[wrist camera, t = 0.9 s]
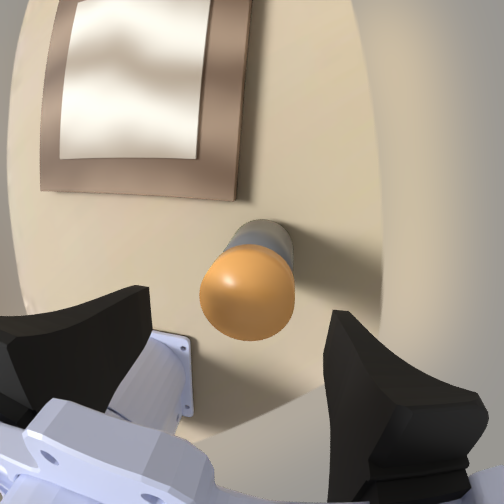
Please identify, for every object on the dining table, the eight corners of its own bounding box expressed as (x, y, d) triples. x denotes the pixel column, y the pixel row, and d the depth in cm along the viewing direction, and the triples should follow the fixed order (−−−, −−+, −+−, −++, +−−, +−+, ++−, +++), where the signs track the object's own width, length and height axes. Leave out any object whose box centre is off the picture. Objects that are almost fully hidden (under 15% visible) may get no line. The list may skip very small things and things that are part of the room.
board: (236, 198, 21) (232, 201, 19) (48, 188, 22) (39, 191, 21) (256, -43, 15) (254, -51, 14) (69, -9, 16) (61, -13, 15)
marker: (290, 278, 22) (287, 345, 14) (230, 271, 22) (199, 334, 15) (298, 218, 21) (300, 261, 13) (233, 212, 21) (200, 250, 13)
